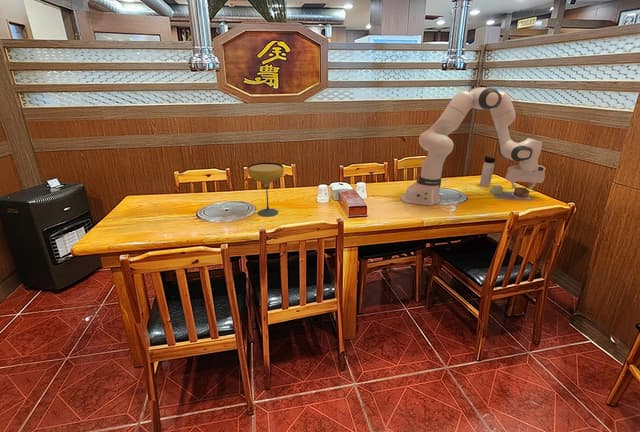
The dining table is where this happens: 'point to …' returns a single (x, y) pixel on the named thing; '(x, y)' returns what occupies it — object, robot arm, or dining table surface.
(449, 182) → the dining table surface
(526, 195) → the walnut block
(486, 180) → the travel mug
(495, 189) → the sage block
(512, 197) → the build board
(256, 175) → the cocktail glass
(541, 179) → the robot arm
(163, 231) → the dining table surface
